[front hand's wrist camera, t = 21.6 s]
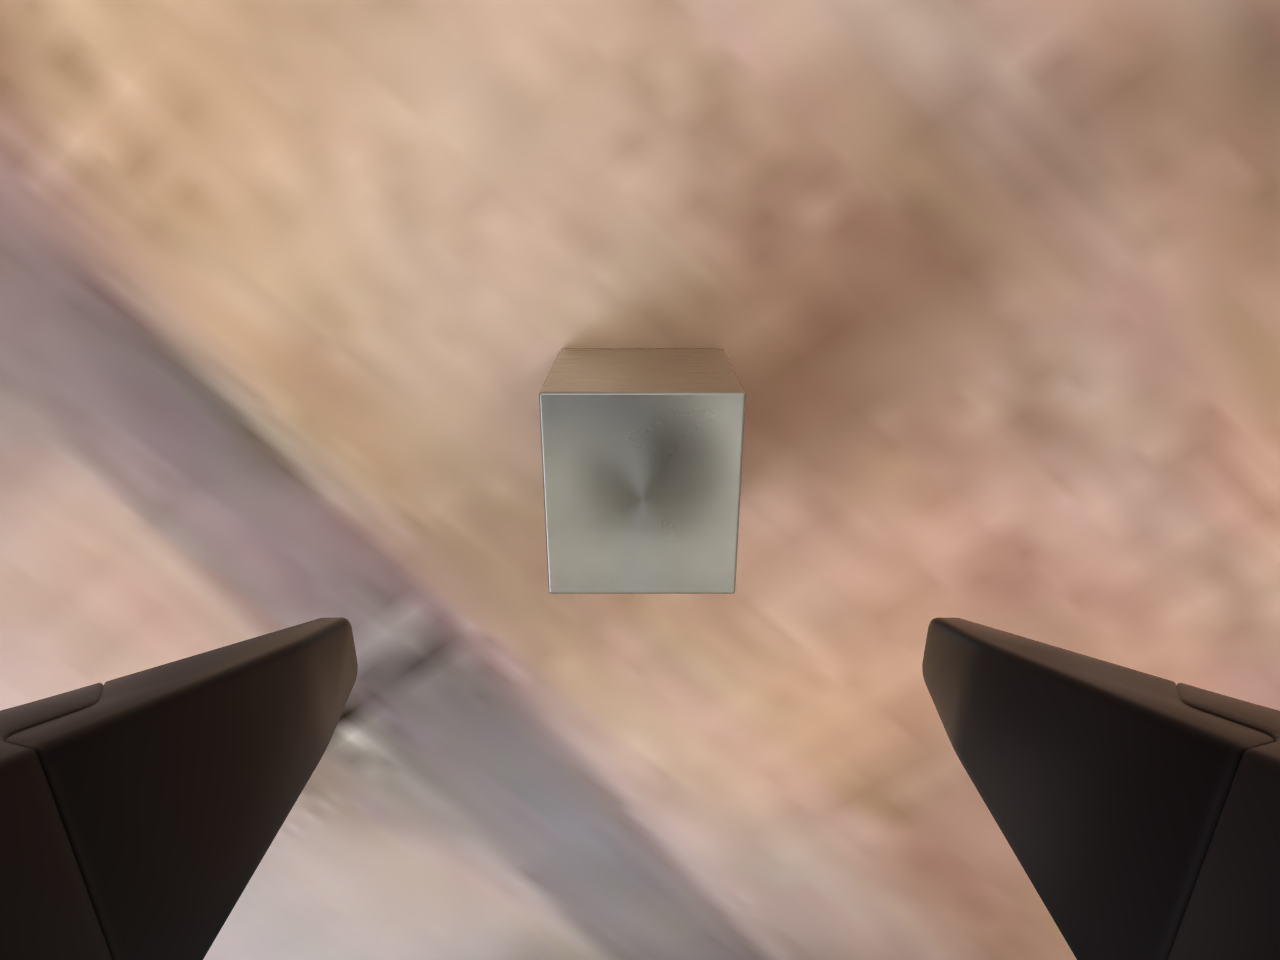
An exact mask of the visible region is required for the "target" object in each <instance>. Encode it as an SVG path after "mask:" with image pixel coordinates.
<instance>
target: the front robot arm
mask: <svg viewBox="0 0 1280 960" xmlns="http://www.w3.org/2000/svg"><path fill="white" fill-rule="evenodd" d="M356 676H357V658H356V651H355V645H354V639H353V633H352V627H351V624H350V622H349V621H348V620H347V619H346V618H320V619H316V620H313V621H310V622H306V623H303V624H300V625H296V626H293V627H289V628H286V629H283V630H279V631H276V632H273V633H269V634H266V635H262V636H259V637H256V638H252V639H249V640H246V641H242V642H239V643H235V644H232V645H229V646H225V647H222V648H218V649H215V650H212V651H208V652H205V653H202V654H198V655H195V656H191V657H188V658H185V659H181V660H178V661H175V662H171V663H168V664H164V665H161V666H158V667H154V668H151V669H148V670H144V671H141V672H137V673H134V674H131V675H127V676H124V677H120V678H117V679H114V680H110V681H107V682H105V684H104V686H103V684H102V683H97V684H93V685H90V686H87V687H83V688H80V689H76V690H73V691H70V692H66V693H63V694H59V695H56V696H52V697H49V698H45V699H42V700H38V701H35V702H31V703H27V704H24V705H20V706H16V707H13V708H9V709H5V710H2V711H0V960H203V959H204V957H205V955H206V954H207V952H208V950H209V948H210V947H211V945H212V943H213V942H214V940H215V938H216V936H217V935H218V933H219V931H220V930H221V928H222V926H223V925H224V923H225V921H226V919H227V918H228V916H229V914H230V913H231V911H232V909H233V908H234V906H235V904H236V902H237V901H238V899H239V897H240V896H241V894H242V892H243V891H244V889H245V887H246V885H247V884H248V882H249V880H250V879H251V877H252V875H253V874H254V872H255V870H256V868H257V867H258V865H259V863H260V862H261V860H262V858H263V856H264V855H265V853H266V851H267V850H268V848H269V846H270V845H271V843H272V841H273V839H274V838H275V836H276V834H277V833H278V831H279V829H280V828H281V826H282V824H283V822H284V821H285V819H286V817H287V816H288V814H289V812H290V811H291V809H292V807H293V805H294V804H295V802H296V800H297V799H298V797H299V795H300V794H301V792H302V790H303V788H304V787H305V785H306V783H307V782H308V780H309V778H310V777H311V775H312V773H313V771H314V770H315V768H316V766H317V765H318V763H319V761H320V759H321V757H322V756H323V754H324V752H325V750H326V748H327V746H328V744H329V742H330V739H331V737H332V735H333V732H334V730H335V728H336V725H337V723H338V721H339V718H340V716H341V714H342V711H343V709H344V707H345V704H346V702H347V700H348V697H349V695H350V693H351V690H352V688H353V686H354V683H355V680H356ZM923 676H924V680H925V683H926V686H927V688H928V690H929V693H930V695H931V697H932V700H933V702H934V704H935V707H936V709H937V711H938V714H939V716H940V718H941V721H942V723H943V725H944V728H945V730H946V732H947V735H948V737H949V739H950V742H951V744H952V746H953V748H954V750H955V752H956V754H957V756H958V757H959V759H960V761H961V763H962V765H963V766H964V768H965V770H966V771H967V773H968V775H969V777H970V778H971V780H972V782H973V783H974V785H975V787H976V788H977V790H978V792H979V794H980V795H981V797H982V799H983V800H984V802H985V804H986V805H987V807H988V809H989V811H990V812H991V814H992V816H993V817H994V819H995V821H996V822H997V824H998V826H999V828H1000V829H1001V831H1002V833H1003V834H1004V836H1005V838H1006V839H1007V841H1008V843H1009V845H1010V846H1011V848H1012V850H1013V851H1014V853H1015V855H1016V856H1017V858H1018V860H1019V862H1020V863H1021V865H1022V867H1023V868H1024V870H1025V872H1026V874H1027V875H1028V877H1029V879H1030V880H1031V882H1032V884H1033V885H1034V887H1035V889H1036V891H1037V892H1038V894H1039V896H1040V897H1041V899H1042V901H1043V902H1044V904H1045V906H1046V908H1047V909H1048V911H1049V913H1050V914H1051V916H1052V918H1053V919H1054V921H1055V923H1056V925H1057V926H1058V928H1059V930H1060V931H1061V933H1062V935H1063V936H1064V938H1065V940H1066V942H1067V943H1068V945H1069V947H1070V948H1071V950H1072V952H1073V954H1074V955H1075V957H1076V959H1077V960H1280V711H1278V710H1275V709H1271V708H1267V707H1264V706H1260V705H1256V704H1253V703H1249V702H1245V701H1242V700H1238V699H1235V698H1231V697H1228V696H1224V695H1221V694H1217V693H1214V692H1210V691H1207V690H1204V689H1200V688H1197V687H1193V686H1190V685H1187V684H1183V683H1178V684H1177V686H1176V684H1175V682H1173V681H1170V680H1166V679H1163V678H1160V677H1156V676H1153V675H1149V674H1146V673H1143V672H1139V671H1136V670H1132V669H1129V668H1126V667H1122V666H1119V665H1116V664H1112V663H1109V662H1105V661H1102V660H1099V659H1095V658H1092V657H1089V656H1085V655H1082V654H1078V653H1075V652H1072V651H1068V650H1065V649H1062V648H1058V647H1055V646H1051V645H1048V644H1045V643H1041V642H1038V641H1034V640H1031V639H1028V638H1024V637H1021V636H1018V635H1014V634H1011V633H1007V632H1004V631H1001V630H997V629H994V628H991V627H987V626H984V625H980V624H977V623H974V622H970V621H967V620H964V619H960V618H934V619H933V620H932V621H931V622H930V624H929V627H928V633H927V639H926V645H925V651H924V658H923Z"/></svg>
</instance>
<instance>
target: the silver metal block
mask: <svg viewBox="0 0 1280 960" xmlns="http://www.w3.org/2000/svg"><path fill="white" fill-rule="evenodd" d="M539 405H540V425H541V445H542V465H543V485H544V504H545V524H546V544H547V564H548V584H549V592H550V593H734V592H735V585H736V566H737V546H738V527H739V508H740V489H741V470H742V451H743V432H744V413H745V392H744V390H743V388H742V386H741V384H740V382H739V380H738V378H737V376H736V374H735V372H734V370H733V368H732V366H731V364H730V362H729V360H728V358H727V356H726V354H725V352H724V350H723V349H561V350H560V352H559V354H558V356H557V358H556V360H555V362H554V364H553V366H552V368H551V370H550V372H549V374H548V376H547V378H546V380H545V383H544V385H543V387H542V389H541V391H540V393H539Z"/></svg>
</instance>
